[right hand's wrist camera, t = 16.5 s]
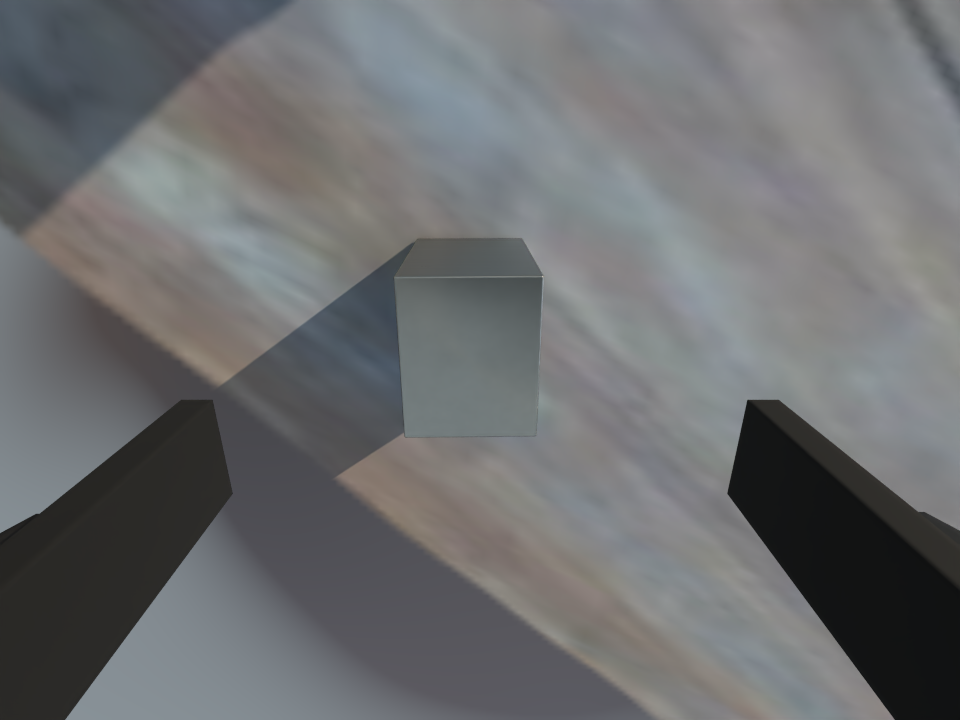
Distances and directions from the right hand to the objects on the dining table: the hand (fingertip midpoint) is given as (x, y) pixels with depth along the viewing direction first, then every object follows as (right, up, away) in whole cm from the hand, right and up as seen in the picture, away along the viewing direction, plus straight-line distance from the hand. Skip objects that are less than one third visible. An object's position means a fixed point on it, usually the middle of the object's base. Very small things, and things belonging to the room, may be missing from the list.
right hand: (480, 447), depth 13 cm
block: (0, +5, +11) cm, 12 cm away
